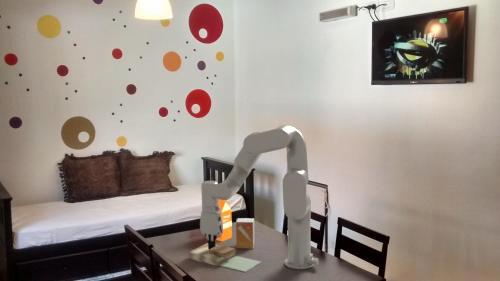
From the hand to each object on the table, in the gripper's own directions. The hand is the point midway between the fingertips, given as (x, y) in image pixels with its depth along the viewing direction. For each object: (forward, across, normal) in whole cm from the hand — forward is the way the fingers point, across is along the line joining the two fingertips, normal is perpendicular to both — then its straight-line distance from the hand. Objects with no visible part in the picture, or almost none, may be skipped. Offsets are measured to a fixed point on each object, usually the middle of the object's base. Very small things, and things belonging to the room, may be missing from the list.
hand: (211, 248), depth 211 cm
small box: (+4, -5, -19) cm, 20 cm away
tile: (+1, -6, +1) cm, 6 cm away
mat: (+4, -16, 0) cm, 16 cm away
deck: (+4, 0, 0) cm, 4 cm away
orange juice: (+4, +13, -23) cm, 27 cm away
